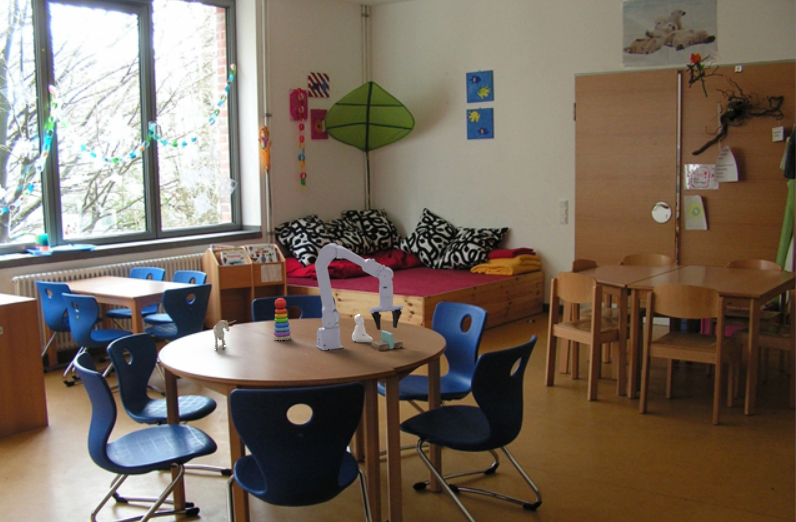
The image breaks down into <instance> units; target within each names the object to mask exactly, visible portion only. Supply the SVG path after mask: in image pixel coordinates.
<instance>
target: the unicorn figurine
mask: <svg viewBox="0 0 796 522" xmlns="http://www.w3.org/2000/svg"><path fill="white" fill-rule="evenodd" d="M235 322H237V320H233V321H228V320H227V319H226V320H225V319H223V320H221V319H220V320H219V321H218V322H217V323H216V324H215V325H214V326H213V328H212V329H213V334H214V343H215V345H214V350H215V349H216V350H217V349H218V350H219V344H218V341H221V345H222V349H223V348H225V349H226V346H225V347H224V345H226V340H225V335H226V334H225V332H230V327H229V325H230V324H233V323H235ZM224 329H225V331H224ZM216 350H215V351H216ZM218 350H217V351H218Z"/></svg>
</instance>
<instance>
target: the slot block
mask: <svg viewBox="0 0 796 522" xmlns="http://www.w3.org/2000/svg"><path fill="white" fill-rule="evenodd" d="M372 347H373V348H372ZM400 347H403V348H404V342H403V341H402V340H399V339H397V338H394V348H397V349H401V348H400ZM371 348H372V349H374V348H375V349H374V350H376V349H377V350H376V351H378V350H382V351H387V350H386V349H389V350H391V349H390V348H388V344H387V343H385V342H383V341H381V340H375V341H372V342H371Z"/></svg>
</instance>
